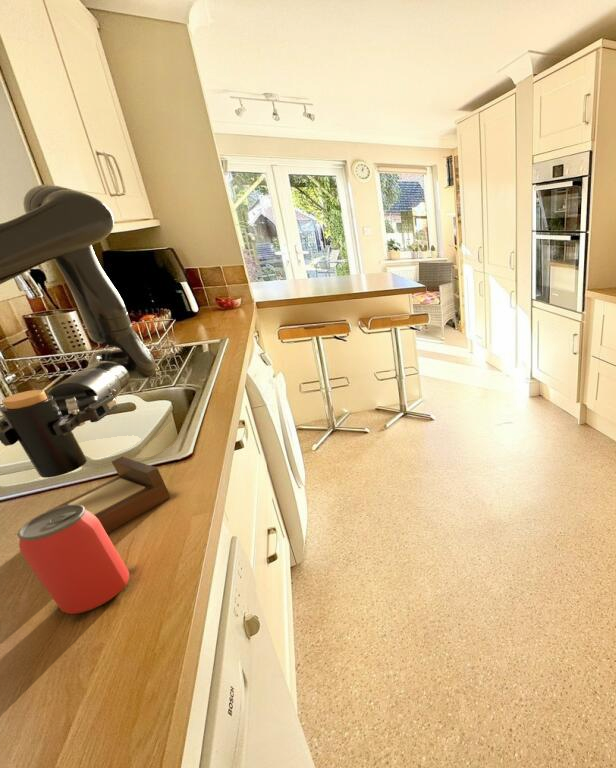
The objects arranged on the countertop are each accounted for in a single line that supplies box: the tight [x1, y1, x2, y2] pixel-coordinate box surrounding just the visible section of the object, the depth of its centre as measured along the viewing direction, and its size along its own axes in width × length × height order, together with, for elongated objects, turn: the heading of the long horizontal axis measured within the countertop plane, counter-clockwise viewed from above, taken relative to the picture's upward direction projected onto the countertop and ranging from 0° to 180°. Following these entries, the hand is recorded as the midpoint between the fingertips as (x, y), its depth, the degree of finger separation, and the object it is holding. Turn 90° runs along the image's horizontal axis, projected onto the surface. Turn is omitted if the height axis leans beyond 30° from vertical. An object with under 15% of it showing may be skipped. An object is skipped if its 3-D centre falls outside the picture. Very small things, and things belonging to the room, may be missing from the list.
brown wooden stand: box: [46, 456, 171, 534], centre depth 66 cm, size 10×11×6 cm
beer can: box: [16, 505, 130, 615], centre depth 50 cm, size 7×7×12 cm
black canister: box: [0, 389, 88, 479], centre depth 66 cm, size 6×6×13 cm
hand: (32, 435), depth 63 cm, fingers closed on black canister, 5 cm apart
